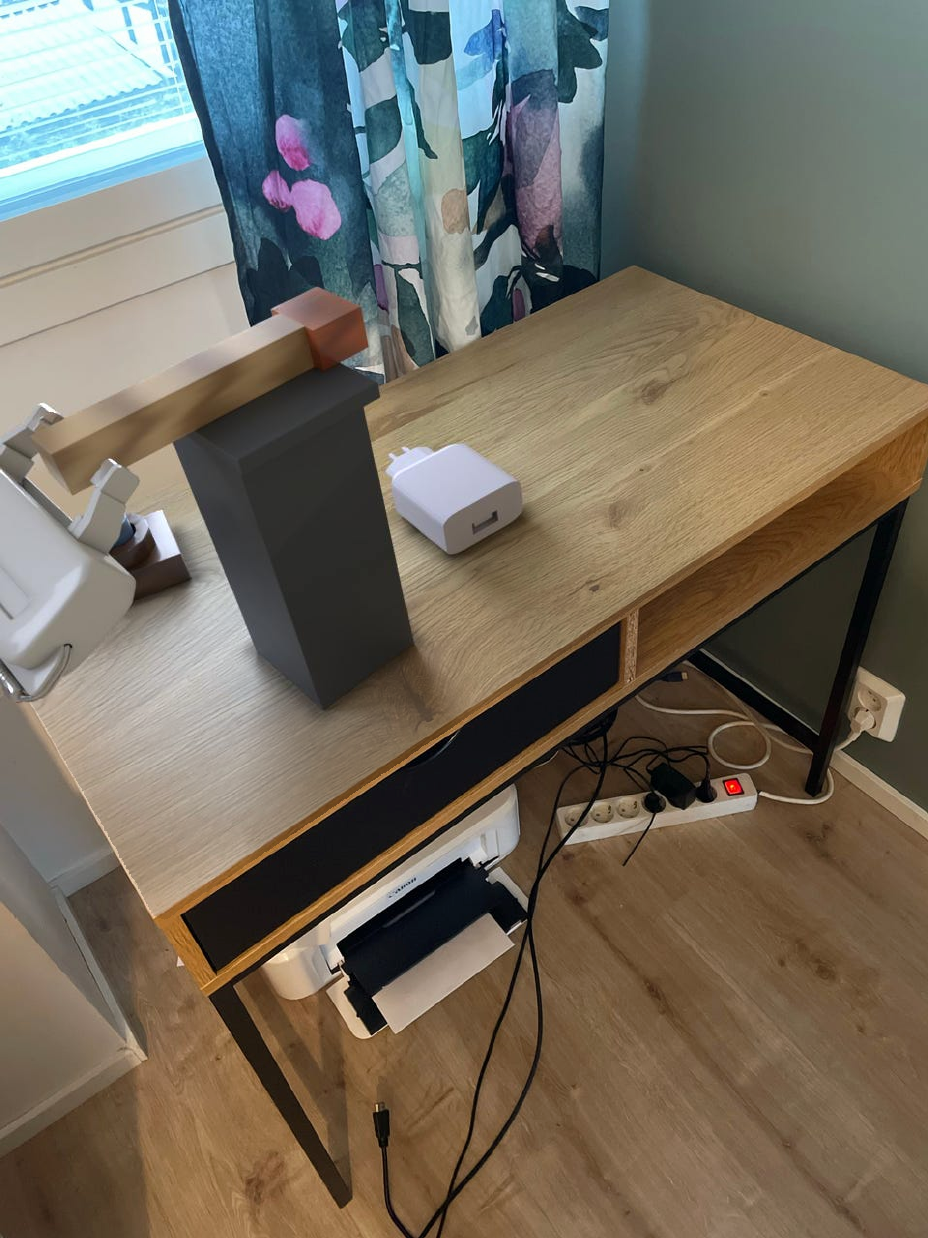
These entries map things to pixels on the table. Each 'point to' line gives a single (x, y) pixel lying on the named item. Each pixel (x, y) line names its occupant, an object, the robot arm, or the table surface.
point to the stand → (304, 529)
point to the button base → (151, 554)
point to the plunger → (124, 533)
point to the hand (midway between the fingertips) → (89, 438)
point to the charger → (453, 494)
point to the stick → (203, 387)
